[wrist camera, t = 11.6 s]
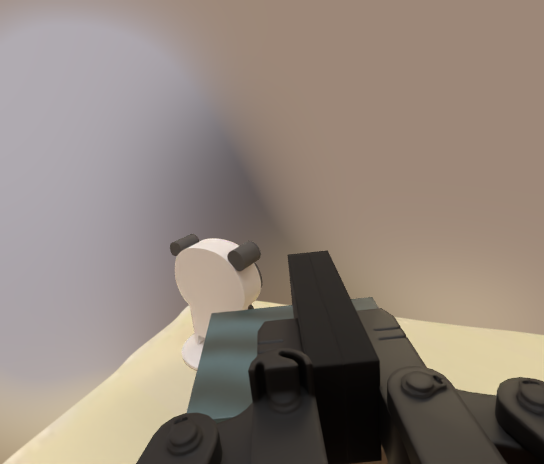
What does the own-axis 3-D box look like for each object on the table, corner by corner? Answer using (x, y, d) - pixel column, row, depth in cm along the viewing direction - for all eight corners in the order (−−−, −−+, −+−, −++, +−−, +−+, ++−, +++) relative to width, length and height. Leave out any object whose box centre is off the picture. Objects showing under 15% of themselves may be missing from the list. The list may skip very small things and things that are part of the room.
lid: (212, 319, 39) (211, 312, 39) (372, 303, 39) (372, 296, 39) (185, 431, 25) (183, 421, 25) (432, 406, 25) (433, 396, 25)
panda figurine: (285, 333, 53) (275, 231, 49) (238, 384, 44) (220, 264, 39) (217, 316, 59) (203, 225, 55) (164, 358, 50) (141, 252, 46)
